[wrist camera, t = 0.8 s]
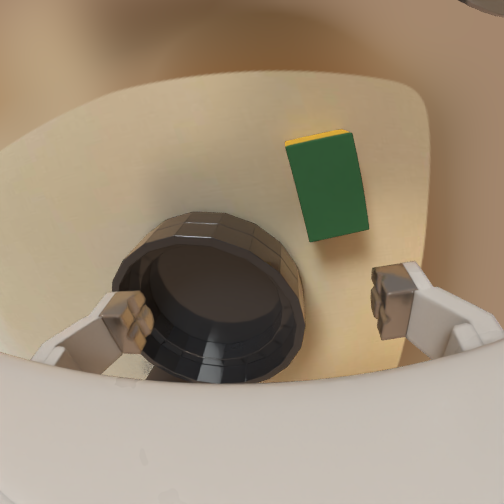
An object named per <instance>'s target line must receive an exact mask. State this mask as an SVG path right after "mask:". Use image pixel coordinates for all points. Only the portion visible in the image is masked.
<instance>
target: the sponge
mask: <svg viewBox="0 0 504 504" xmlns="http://www.w3.org/2000/svg"><path fill="white" fill-rule="evenodd" d="M285 148H286V152H287V155H288V159H289V162H290V166H291V170H292V174H293V177H294V181H295V185H296V189H297V193H298V197H299V200H300V204H301V208H302V213H303V217H304V221H305V225H306V229H307V233H308V238H309V242H314V241H319V240H324V239H328V238H333V237H337V236H342V235H346V234H351V233H355V232H360V231H364V230H369V223H368V216H367V209H366V202H365V196H364V190H363V184H362V178H361V173H360V168H359V163H358V158H357V153H356V148H355V143H354V139H353V135H352V133H350V132H348V131H345V130H342V129H340V130H335V131H330V132H325V133H320V134H315V135H311V136H306V137H302V138H298V139H294V140H289V141H285Z"/></svg>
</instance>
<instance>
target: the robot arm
mask: <svg viewBox="0 0 504 504" xmlns="http://www.w3.org/2000/svg"><path fill="white" fill-rule="evenodd" d="M371 279H372V282H373V284H374V286H373V288H372V289H371V308H372V312H373V315H374V317H375V318H376V319H378V322H377V328H378V331H379V334H380V337H381V340H388V339H394V338H401V337H406V338H407V339H408V340H409V341H410V342H412V343H413V344H414V345H415V346H416V347H417V348H419V349H420V350H421V351H422V352H423V353H425V354H426V355H427V356H428V357H429V358H430V359H432V360H429V361H426V362H421V363H416V364H412V365H408V366H402V367H397V368H392V369H387V370H382V371H376V372H370V373H364V374H357V375H350V376H343V377H334V378H326V379H316V380H305V381H291V382H274V383H244V384H210V383H182V382H165V381H152V380H142V379H132V378H123V377H115V376H108V375H101V374H102V373H103V372H104V371H105V370H106V369H107V368H108V367H109V366H110V365H112V364H113V363H114V362H115V361H116V360H117V359H118V358H119V357H120V356H121V355H122V353H128V354H141V352H142V350H143V348H144V346H145V344H146V342H147V341H146V338H145V337H147V336H148V335H149V334H151V332H152V330H153V328H154V317H153V314H152V311H151V309H150V308H148V307H147V306H146V305H145V303H146V298H145V296H144V294H143V293H142V292H140V291H120V292H108V293H106V294H105V295H104V297H103V298H102V299H101V300H100V302H99V303H98V304H97V305H96V307H95V308H94V309H93V311H92V312H91V313H90V315H89V316H85V317H84V318H82V319H80V320H79V321H77V322H76V323H74V324H72V325H71V326H69V327H68V328H66V329H64V330H63V331H61V332H60V333H58V334H56V335H55V336H53V337H52V338H50V339H48V340H47V341H45V342H44V343H43V344H42V345H41V346H40V348H39V349H38V350H37V352H36V353H35V354H34V356H33V357H32V358H31V360H27V359H23V358H20V357H16V356H12V355H9V354H6V353H2V352H0V504H504V331H503V329H502V328H501V326H500V324H499V323H498V321H497V320H496V318H495V317H494V316H493V314H491V313H489V312H487V311H485V310H483V309H481V308H479V307H477V306H475V305H473V304H471V303H469V302H467V301H465V300H463V299H461V298H459V297H457V296H455V295H453V294H451V293H449V292H447V291H445V290H443V289H441V288H439V287H433V286H432V284H431V283H430V281H429V280H428V278H427V277H426V275H425V274H424V272H423V271H422V270H421V268H420V267H419V265H418V264H417V262H415V261H410V262H404V263H399V264H393V265H387V266H381V267H375V268H372V276H371Z"/></svg>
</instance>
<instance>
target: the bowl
mask: <svg viewBox="0 0 504 504" xmlns="http://www.w3.org/2000/svg"><path fill="white" fill-rule="evenodd" d="M120 291H140V292H142V293H143V294H144V296H145V298H146V303H145V305H146V306H147V307H148V308H150V309H151V311H152V314H153V317H154V328H153V330H152V332H151V334H149V335H148V336H147V337H145V338H146V341H147V342H146V344H145V346H144V348H143V350H142V352H141V355H142V356H143V357H144V358H146V359H147V360H148V361H149V362H150V363H151V364H153V365H155V366H156V367H158V368H160V369H162V370H163V371H165V372H167V373H168V374H170V375H172V376H174V377H177V378H180V379H182V380H185V381H188V382H191V383H210V384H244V383H258V382H261V381H264V380H267V379H270V378H271V377H273V376H274V375H276V374H277V373H279V372H280V371H282V370H283V369H285V368H286V367H288V365H289V364H290V363H291V361H292V360H293V358H294V357H295V356H296V354H297V353H298V351H299V350H300V348H301V346H302V341H303V336H304V330H305V311H304V298H303V289H302V284H301V280H300V276H299V272H298V268H297V266H296V264H295V263H294V261H293V260H292V258H291V257H290V255H289V254H288V253H287V251H286V250H285V248H284V247H283V245H282V244H281V243H280V242H279V241H278V240H276V239H275V238H274V237H272V236H271V235H270V234H269V233H267V232H266V231H265V230H263V229H262V228H261V227H259V226H258V225H256V224H255V223H252V222H249V221H246V220H243V219H241V218H238V217H235V216H232V215H229V214H227V213H225V214H224V213H214V212H190V213H187V214H183V215H180V216H176V217H173V218H170V219H167V220H165V221H164V222H162V223H161V224H160V225H158V226H157V227H156V228H155V229H153V230H152V231H151V232H149V233H148V234H147V235H146V236H145V237H144V238H143V239H142V240H141V241H140V242H139V243H138V244H137V245H136V247H135V248H134V249H133V250H132V251H131V252H130V253H129V254H128V255H127V256H126V258H125V259H124V260H123V261H122V263H121V265H120V267H119V269H118V271H117V273H116V275H115V277H114V279H113V282H112V292H120Z"/></svg>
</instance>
